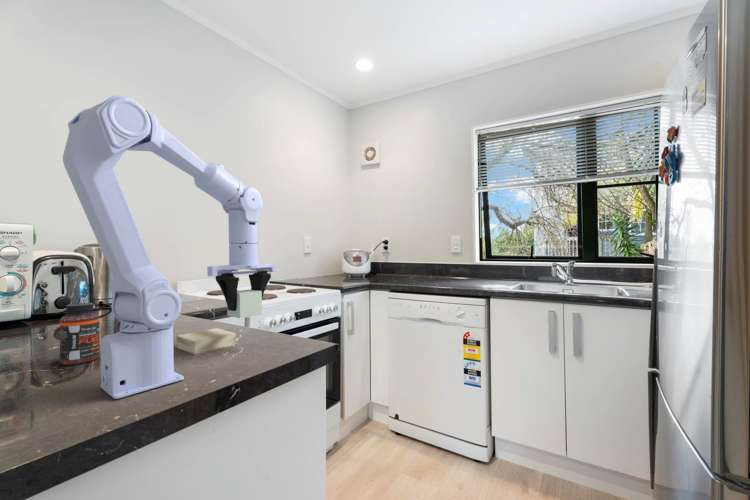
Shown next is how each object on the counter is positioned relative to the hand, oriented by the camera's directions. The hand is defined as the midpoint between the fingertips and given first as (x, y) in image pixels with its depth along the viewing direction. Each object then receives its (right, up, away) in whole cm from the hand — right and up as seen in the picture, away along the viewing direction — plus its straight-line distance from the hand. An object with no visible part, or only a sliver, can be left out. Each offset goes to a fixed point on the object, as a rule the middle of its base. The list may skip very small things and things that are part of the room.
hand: (244, 308), depth 72 cm
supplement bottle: (-31, -10, -5) cm, 33 cm away
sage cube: (0, -1, 0) cm, 1 cm away
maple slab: (-10, -10, +5) cm, 15 cm away
